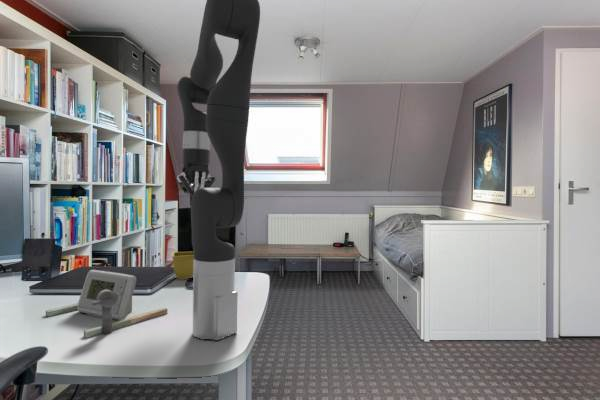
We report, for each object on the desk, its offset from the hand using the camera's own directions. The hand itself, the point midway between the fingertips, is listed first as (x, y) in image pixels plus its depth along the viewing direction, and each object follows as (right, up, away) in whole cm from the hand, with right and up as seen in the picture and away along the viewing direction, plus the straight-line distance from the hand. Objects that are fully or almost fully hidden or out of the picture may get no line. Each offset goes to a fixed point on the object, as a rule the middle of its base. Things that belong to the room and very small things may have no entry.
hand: (195, 208), depth 106 cm
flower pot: (-11, -26, +27) cm, 39 cm away
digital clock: (-20, -27, -11) cm, 36 cm away
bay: (-18, -27, -12) cm, 35 cm away
